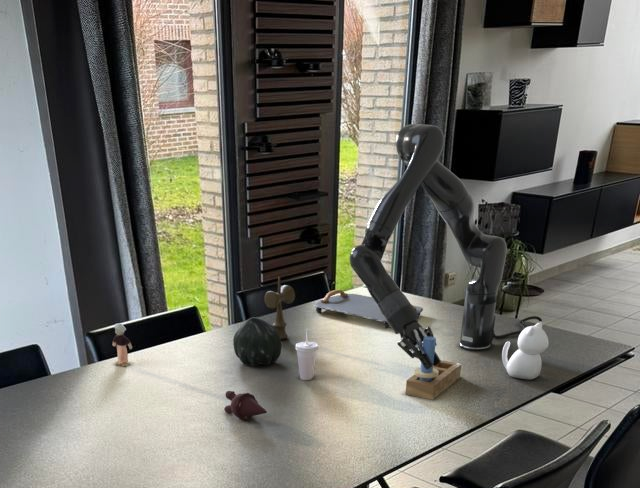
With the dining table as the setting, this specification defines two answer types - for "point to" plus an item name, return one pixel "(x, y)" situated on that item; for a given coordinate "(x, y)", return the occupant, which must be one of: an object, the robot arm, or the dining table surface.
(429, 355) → the peg
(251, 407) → the red gnome figurine
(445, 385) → the rack
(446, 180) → the robot arm
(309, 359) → the smoothie
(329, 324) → the dining table surface
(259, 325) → the squash
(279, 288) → the kendama
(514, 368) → the cat figurine
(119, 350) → the grandmother figurine
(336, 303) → the serving tray
